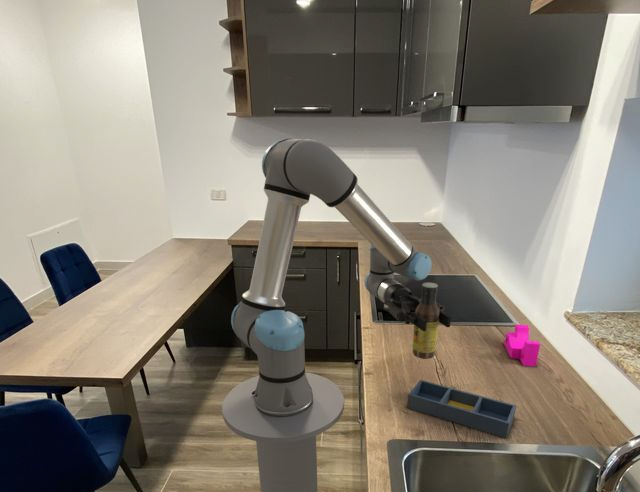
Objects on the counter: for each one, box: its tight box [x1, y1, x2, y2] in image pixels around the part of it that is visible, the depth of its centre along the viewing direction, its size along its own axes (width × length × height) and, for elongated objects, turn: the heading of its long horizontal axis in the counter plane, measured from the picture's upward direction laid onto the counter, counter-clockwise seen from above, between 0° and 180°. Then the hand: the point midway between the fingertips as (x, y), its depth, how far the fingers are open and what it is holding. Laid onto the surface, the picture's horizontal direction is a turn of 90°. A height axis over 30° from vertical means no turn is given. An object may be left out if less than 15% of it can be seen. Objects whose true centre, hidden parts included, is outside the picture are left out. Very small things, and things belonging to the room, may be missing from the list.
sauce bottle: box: [411, 282, 440, 360], centre depth 115 cm, size 6×6×20 cm
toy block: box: [503, 324, 541, 367], centre depth 142 cm, size 15×6×8 cm, turn 173°
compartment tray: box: [406, 379, 517, 439], centre depth 112 cm, size 25×9×4 cm, turn 60°
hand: (437, 324), depth 111 cm, fingers closed on sauce bottle, 6 cm apart
